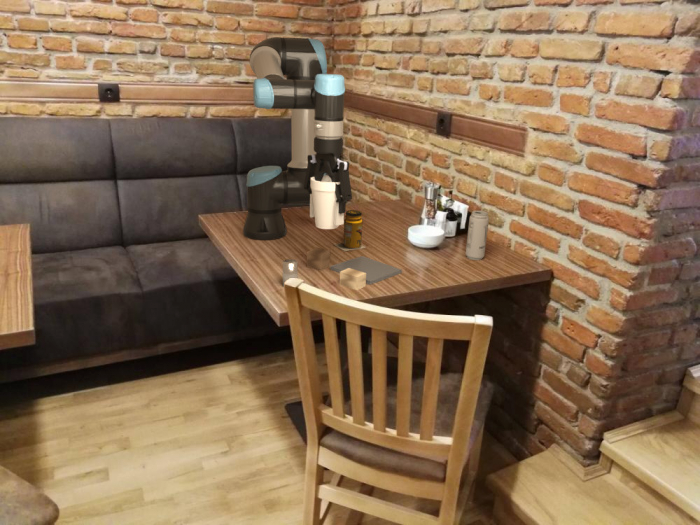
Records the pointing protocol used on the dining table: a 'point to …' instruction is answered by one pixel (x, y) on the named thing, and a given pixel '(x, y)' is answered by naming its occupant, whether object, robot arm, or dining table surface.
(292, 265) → the metal shaker
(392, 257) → the dining table surface
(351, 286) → the beech block
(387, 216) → the dining table surface
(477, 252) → the energy drink can
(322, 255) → the brown cube
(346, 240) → the condiment
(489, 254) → the dining table surface
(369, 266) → the slate board
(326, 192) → the foam cup
